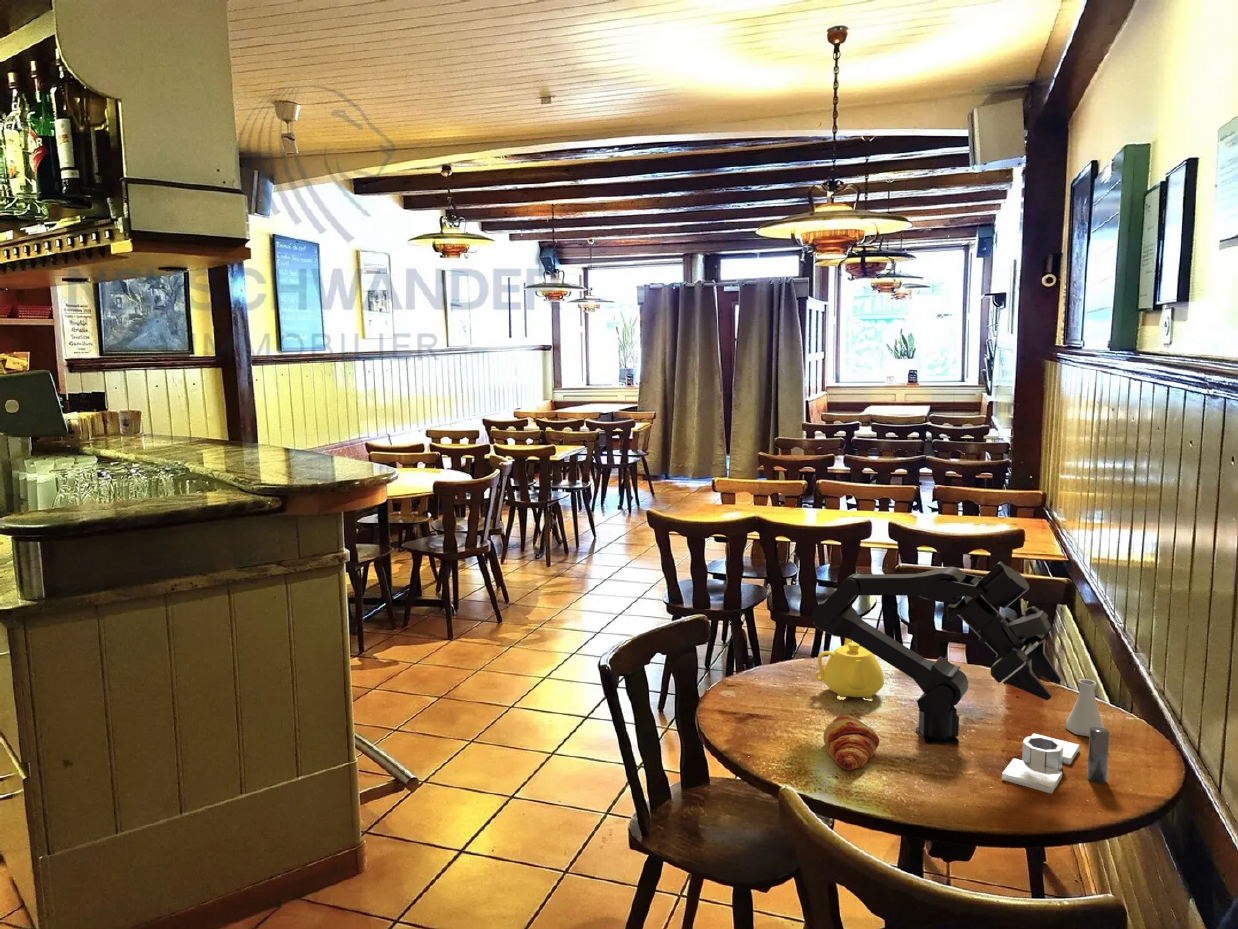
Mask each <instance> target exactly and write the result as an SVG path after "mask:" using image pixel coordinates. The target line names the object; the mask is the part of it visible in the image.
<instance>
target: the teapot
mask: <svg viewBox="0 0 1238 929" xmlns="http://www.w3.org/2000/svg"><path fill="white" fill-rule="evenodd" d="M824 656H829V658H828V659H827V661H826V663H825V664H824V667H823V662H822V661H823V660H822V659H823V657H824ZM876 657H877V656H876V655H874V654H873V653H871V652H870V651H868V650H866V649H865V648H863V647H862V646H860V645H859V644H857V643H855V642H854V641H852V640H850V639H847V638H844V644H843V645H840V646H838V647H836V649H835V650H834V651H831V650H824V651H821V652H820V653H819V654H818V656H817V664H818V665H817V666H818V668H819V670H816V671H815V672H814V679H815V680H816V681H819V682H823V683H824V685H826V686H827V688H828V689H829V690H830V691H832V692H833V693H834V694H836V695H838V696H840V697H847V698H848V697H852V698H862V697H863V698H865V699H872V698H873V697H872V696H873V695H875V694H877V693H878V692H879V691H880V690H881V689H882V688H883V687H884V684H885V678H884V671H883V670H882V667H881V665H880V663H879V660H878V659H877V658H876ZM818 675H820V676H818Z"/></svg>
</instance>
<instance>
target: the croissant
mask: <svg viewBox="0 0 1238 929" xmlns="http://www.w3.org/2000/svg"><path fill="white" fill-rule="evenodd" d="M822 738H823V743H824V744H825V749H826V751H827V754H828V755H829V756H830V757H831V758H832V759H833V761H834V762H835V763H836V764H837V765H838V766H839V767H840V768H841V769H843V770H847V771H850V770H851V771H852V770H854V769H860V768H863V767H864V766H865V765H866V763H867V762H869V761H870V760H871V759H872V758H873V755H874V754H875V752H876V750H877V748H878V747H879V745H880V737H879V736H878V734H877V733H876V731H875V730H874V729H873V728H871V727H870V726H868V725H866V724H865V723H864V722H862V721H860V719H858V718H857V717H854V716H851V715H839V716H837V717H835V719H832V721H831V723H829V724H827V725H826V727H825V729H824V732H823V737H822Z"/></svg>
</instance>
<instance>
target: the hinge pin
mask: <svg viewBox="0 0 1238 929" xmlns="http://www.w3.org/2000/svg"><path fill="white" fill-rule="evenodd" d="M1104 728H1105V727H1104ZM1104 728H1101V727H1091V728H1090V733H1089V736H1088V739H1089V740H1088V753H1087V754H1088V756H1087V770H1086V771H1087V772H1086V774H1087V776H1086V779H1087V780H1088V781H1089V782H1091V783H1094V784H1098V785H1104V784H1106V783H1108V779H1107V778H1108V767H1109V766H1108V763H1109V746H1110V730H1109V729H1107V728H1105V729H1104Z"/></svg>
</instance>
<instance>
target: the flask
mask: <svg viewBox="0 0 1238 929" xmlns="http://www.w3.org/2000/svg"><path fill="white" fill-rule="evenodd" d="M1078 686H1079V693H1078V697H1077V699H1076V701H1075V703H1074V705H1073V707H1072V709H1071V712H1070V714H1069V715H1068V718H1067V719H1066V722H1065V726H1064V727H1065V729H1066V730H1068V731H1070V732H1071V733H1072V734H1074V735H1079V736H1083V737H1084V736H1085V737H1089V733H1090V728H1091V727H1101V728H1104V729H1106V728H1105V725H1104V722H1103V720H1102V717H1101V714H1100V711H1099V709H1098V705H1097V702H1096V695H1095V688H1097V681H1094V680H1092V679H1087V678H1082V679H1081V678H1079V679H1078Z"/></svg>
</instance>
